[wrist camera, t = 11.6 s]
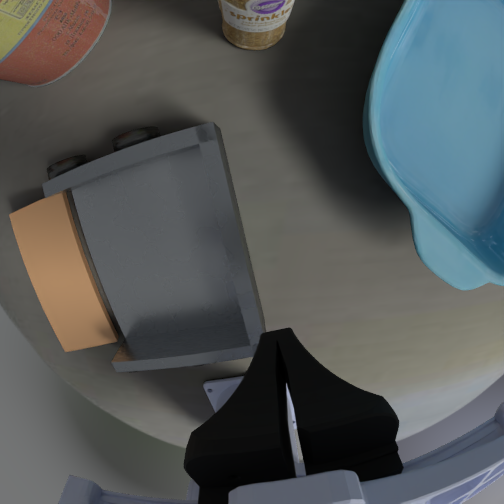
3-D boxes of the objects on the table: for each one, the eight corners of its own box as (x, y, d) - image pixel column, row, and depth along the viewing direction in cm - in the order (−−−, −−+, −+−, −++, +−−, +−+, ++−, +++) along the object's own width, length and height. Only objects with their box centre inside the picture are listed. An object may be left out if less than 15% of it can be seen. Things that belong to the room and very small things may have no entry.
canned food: (8, 33, 14) (-69, 11, 2) (97, -37, 13) (37, -97, 1) (25, 111, 17) (-78, 109, 6) (127, 33, 16) (43, -38, 5)
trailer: (267, 331, 24) (271, 365, 20) (128, 351, 24) (112, 382, 20) (216, 113, 18) (208, 102, 14) (62, 167, 19) (28, 173, 15)
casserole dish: (465, 296, 24) (506, 331, 17) (284, 178, 20) (304, 189, 13) (546, 55, 14) (580, 51, 7) (425, -68, 10) (453, -93, 4)
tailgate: (117, 341, 23) (65, 352, 22) (119, 336, 24) (68, 347, 23) (61, 190, 19) (9, 214, 18) (65, 190, 20) (13, 212, 19)
